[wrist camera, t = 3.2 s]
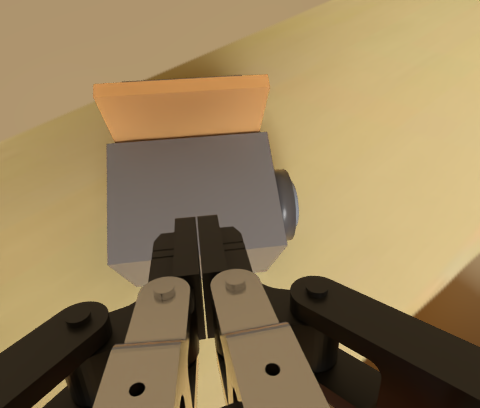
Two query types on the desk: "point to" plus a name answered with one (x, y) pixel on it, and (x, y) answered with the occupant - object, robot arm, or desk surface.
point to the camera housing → (196, 196)
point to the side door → (182, 107)
